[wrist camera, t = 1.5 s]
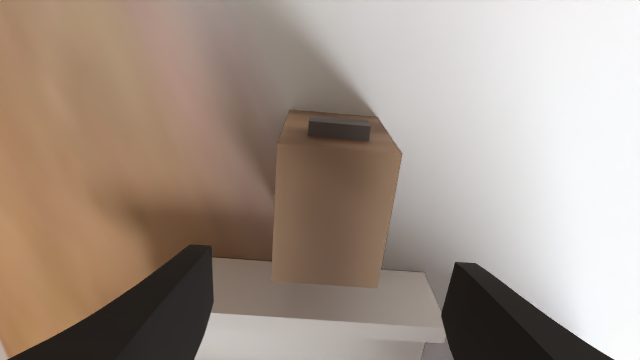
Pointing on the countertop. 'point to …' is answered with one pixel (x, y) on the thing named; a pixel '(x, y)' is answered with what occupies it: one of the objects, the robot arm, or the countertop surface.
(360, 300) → the white stand
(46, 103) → the countertop surface
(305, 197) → the cabinet block
